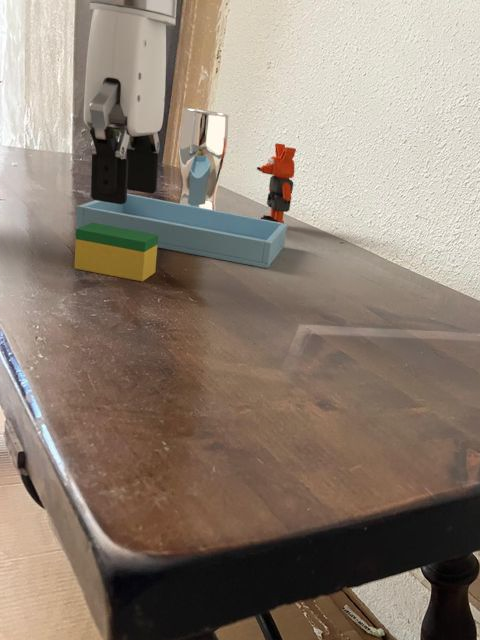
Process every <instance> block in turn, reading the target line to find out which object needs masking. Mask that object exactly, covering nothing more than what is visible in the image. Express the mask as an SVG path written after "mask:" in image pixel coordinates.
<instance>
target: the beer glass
mask: <svg viewBox="0 0 480 640" xmlns="http://www.w3.org/2000/svg"><path fill="white" fill-rule="evenodd" d="M229 128H230V115H228V114H226V113H222V112H216V111H211V110H205V109H201V108H193V107H183V110H182V116H181V122H180V127H179V137H178V164H179V177H180V192H179V199H178V203H179V204H184V205H189V206H195V207H200V208H205V209H210V210H216V211H217V207H216V205H217V204H216V200H217V192H218V188H219V184H220V181H221V177H222V174H223V170H224V166H225V162H226V157H227V153H228V147H229V146H228V145H229V132H230V131H229V130H230V129H229Z"/></svg>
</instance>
